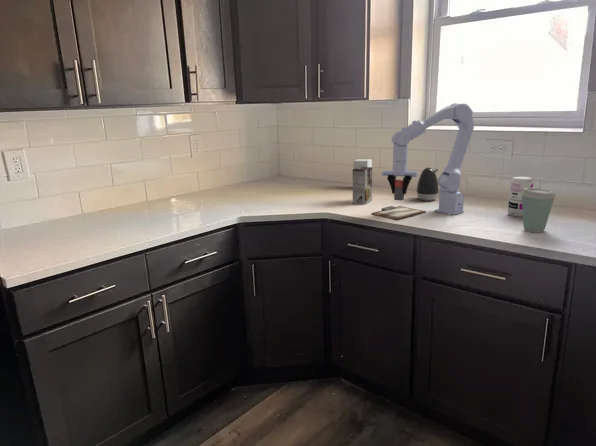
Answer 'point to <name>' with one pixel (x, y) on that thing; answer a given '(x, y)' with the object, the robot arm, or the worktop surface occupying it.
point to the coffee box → (362, 185)
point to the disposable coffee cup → (536, 208)
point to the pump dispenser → (427, 185)
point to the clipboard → (398, 212)
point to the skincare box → (362, 163)
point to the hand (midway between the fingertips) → (399, 193)
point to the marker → (398, 189)
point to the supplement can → (518, 194)
